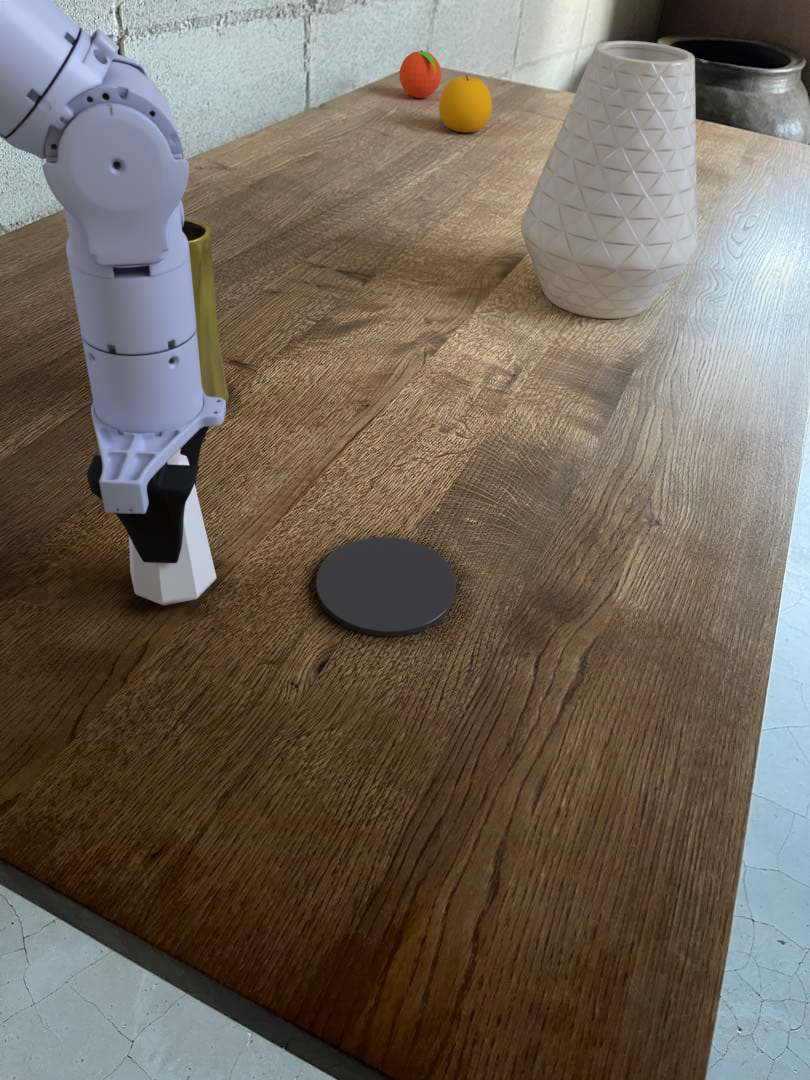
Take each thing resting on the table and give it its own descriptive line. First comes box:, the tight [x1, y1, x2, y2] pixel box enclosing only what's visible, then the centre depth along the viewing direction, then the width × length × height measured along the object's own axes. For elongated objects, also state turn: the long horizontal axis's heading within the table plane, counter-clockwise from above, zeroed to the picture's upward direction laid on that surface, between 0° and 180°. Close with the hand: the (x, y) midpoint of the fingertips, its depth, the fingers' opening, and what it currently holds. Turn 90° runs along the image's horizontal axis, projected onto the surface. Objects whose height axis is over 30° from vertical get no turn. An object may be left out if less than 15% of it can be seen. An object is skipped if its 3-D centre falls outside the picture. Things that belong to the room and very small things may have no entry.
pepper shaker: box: [128, 449, 217, 606], centre depth 54 cm, size 5×5×11 cm
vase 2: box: [520, 40, 699, 320], centre depth 89 cm, size 18×17×23 cm
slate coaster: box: [315, 536, 457, 638], centre depth 59 cm, size 9×9×1 cm
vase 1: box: [182, 217, 230, 405], centre depth 71 cm, size 6×6×14 cm
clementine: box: [398, 49, 442, 99], centre depth 151 cm, size 8×7×7 cm
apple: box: [438, 75, 493, 134], centre depth 138 cm, size 8×8×8 cm
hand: (167, 535), depth 56 cm, fingers closed on pepper shaker, 4 cm apart
